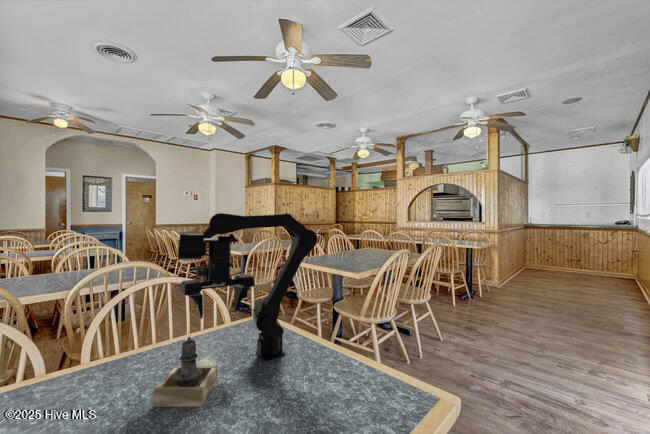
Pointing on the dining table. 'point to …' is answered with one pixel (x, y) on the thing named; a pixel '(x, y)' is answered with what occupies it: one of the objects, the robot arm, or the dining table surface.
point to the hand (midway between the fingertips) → (218, 315)
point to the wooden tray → (184, 389)
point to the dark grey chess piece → (188, 366)
